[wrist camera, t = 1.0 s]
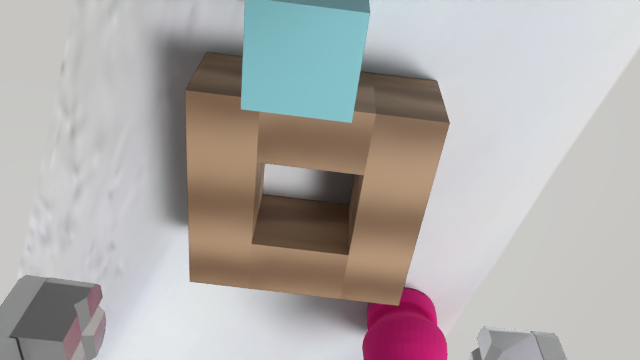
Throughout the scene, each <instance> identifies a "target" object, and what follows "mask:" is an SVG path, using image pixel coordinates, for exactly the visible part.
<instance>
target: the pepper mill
mask: <svg viewBox="0 0 640 360" xmlns="http://www.w3.org/2000/svg"><path fill="white" fill-rule="evenodd" d="M367 326H368V332H367V333H366V335H365V337H364V340H363V347H362V349H363V357H364V360H447V343H446V339H445V337H444V335H443V333H442V331H441V330H440V329H439V328H438V326H437V318H436V311H435V307H434V304H433V303H432V301H431V300H430V299H429V298H428V297H427V296H426V295H425V294H423V293H421V292H419V291H416V290H412V289H403V292H402V295H401V299H400V302H399V306H397V305H388V304H380V303H370V304H369V306H368V309H367Z"/></svg>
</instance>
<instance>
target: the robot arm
mask: <svg viewBox="0 0 640 360" xmlns="http://www.w3.org/2000/svg"><path fill="white" fill-rule="evenodd" d="M101 299H102V291H101V286H100V285H98V284H93V283H86V282H79V281H71V280H64V279H57V278H46V277H39V276H31V275H25V276H24V277H22V278H21V279H19V280H18V282H17V283H16V285H15V286H14V287H13V289H12V290H11V292H10V293H9V295H8V296H7V297H6V299H5V300H4V302H3V303H2V304H1V306H0V360H92V359H93V358H95V357H96V356H97V354H98V352H99V350H100V348H101V345H102V342H103V338H104V334H105V326H106V318H105V312H104V311H103V310H102V309H101V308H100V307H99V306H98V305H99V303H100V301H101ZM477 340H478V344H479V348H477V349H476V350H474V351H473V352H471V355H470V358H469V360H567V358H566V356H565V353H564V351H563V348H562V346H561V343H560V341H559V339H558V337H557V336H556V335H555V334H554V333H545V332H536V331H527V330H516V329H506V328H496V327H486V326H484V327H483V328H482V329H481V330H480V332H479V335H478V337H477Z"/></svg>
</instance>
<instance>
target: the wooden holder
mask: <svg viewBox="0 0 640 360" xmlns="http://www.w3.org/2000/svg"><path fill="white" fill-rule="evenodd" d="M242 63H243V57H241V56H233V55H225V54H217V53H209V52H206V54H205V56H204V57H203V59H202V61H201V63H200V65H199V66H198V68H197V70H196V72H195V73H194V75H193V77H192V79H191V81H190V82H189V84H188V86H187V88H186V90H185V106H186V147H187V188H188V229H189V270H190V282H197V283H205V284H214V285H223V286H231V287H240V288H249V289H258V290H266V291H275V292H284V293H292V294H301V295H310V296H319V297H327V298H336V299H345V300H353V301H362V302H371V303H380V304H388V305H397V306H399V302H400V299H401V295H402V292H403V288H404V285H405V281H406V277H407V274H408V270H409V267H410V263H411V260H412V256H413V252H414V249H415V245H416V242H417V238H418V235H419V231H420V227H421V224H422V220H423V217H424V213H425V210H426V206H427V202H428V199H429V195H430V192H431V188H432V185H433V181H434V177H435V174H436V170H437V167H438V163H439V160H440V156H441V152H442V149H443V145H444V142H445V138H446V135H447V131H448V127H449V124H450V122H449V119H448V116H447V112H446V109H445V106H444V102H443V99H442V96H441V92H440V89H439V86H438V82H437V81H431V80H423V79H415V78H407V77H399V76H391V75H383V74H375V73H368V72H360V77H359V82H358V88H357V94H356V100H355V106H354V112H353V118H352V123H348V122H340V121H332V120H324V119H316V118H308V117H300V116H292V115H283V114H275V113H267V112H259V111H251V110H243V109H241V90H242ZM265 163H267V164H275V165H283V166H291V167H300V168H308V169H316V170H324V171H333V172H341V173H349V174H354V180H353V185H352V191H351V197H350V202H349V205H345V204H336V203H328V202H320V201H311V200H303V199H294V198H286V197H278V196H269V195H263V180H264V166H265Z"/></svg>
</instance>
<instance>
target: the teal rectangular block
mask: <svg viewBox="0 0 640 360" xmlns="http://www.w3.org/2000/svg"><path fill="white" fill-rule="evenodd" d="M369 17H370V7H369V0H245V11H244V37H243V63H242V90H241V109H243V110H251V111H259V112H267V113H275V114H283V115H292V116H300V117H308V118H316V119H324V120H332V121H340V122H348V123H352V118H353V112H354V106H355V100H356V94H357V88H358V82H359V77H360V71H361V65H362V59H363V53H364V47H365V41H366V35H367V29H368V23H369Z"/></svg>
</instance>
